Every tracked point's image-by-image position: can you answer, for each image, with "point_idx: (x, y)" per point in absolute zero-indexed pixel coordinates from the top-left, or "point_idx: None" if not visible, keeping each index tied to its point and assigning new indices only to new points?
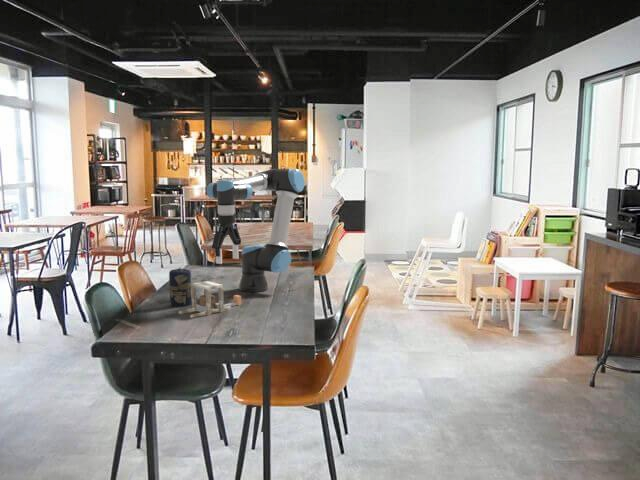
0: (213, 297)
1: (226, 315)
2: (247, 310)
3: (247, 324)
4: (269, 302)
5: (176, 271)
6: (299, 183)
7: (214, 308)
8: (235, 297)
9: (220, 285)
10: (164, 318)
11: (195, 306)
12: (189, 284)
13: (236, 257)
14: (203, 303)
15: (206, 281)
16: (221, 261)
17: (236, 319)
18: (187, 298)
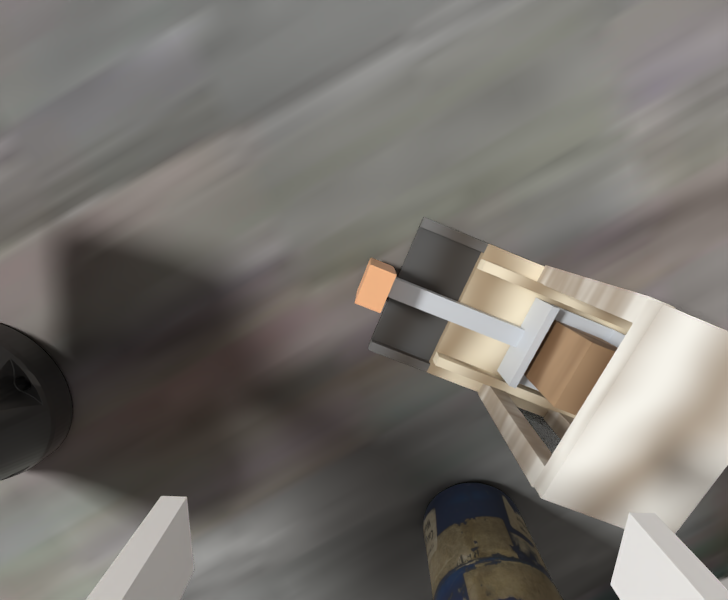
0: (597, 344)
1: (559, 236)
2: (425, 184)
3: (715, 17)
4: (208, 157)
5: None
6: None
7: (557, 319)
8: (388, 293)
9: (684, 313)
10: None
11: (568, 418)
12: (505, 584)
13: (178, 534)
14: None
15: (566, 488)
16: (672, 544)
17: (624, 140)
18: (497, 513)
